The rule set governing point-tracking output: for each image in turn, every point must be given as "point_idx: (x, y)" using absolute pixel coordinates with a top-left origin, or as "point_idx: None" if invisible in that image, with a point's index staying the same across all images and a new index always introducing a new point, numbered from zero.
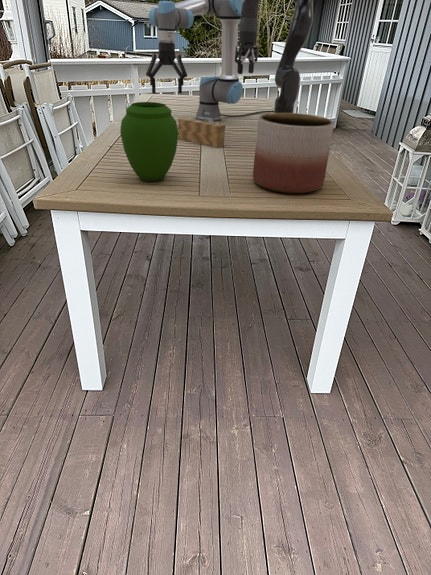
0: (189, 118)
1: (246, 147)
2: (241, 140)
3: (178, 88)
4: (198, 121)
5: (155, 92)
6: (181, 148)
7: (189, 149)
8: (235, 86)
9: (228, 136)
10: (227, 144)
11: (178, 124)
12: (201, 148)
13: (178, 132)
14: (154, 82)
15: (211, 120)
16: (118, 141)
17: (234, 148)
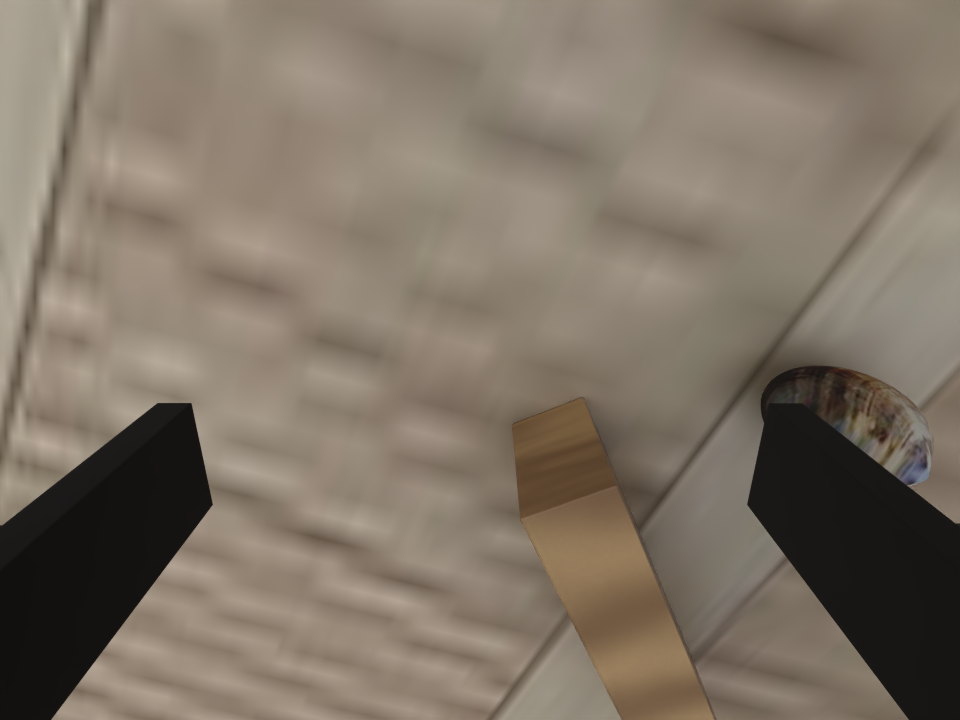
0: (630, 544)
1: (801, 715)
2: None
3: (814, 464)
4: (634, 665)
5: (201, 517)
6: (418, 640)
7: (455, 667)
8: None
9: (933, 465)
10: (745, 640)
11: (517, 486)
12: (534, 668)
13: (514, 448)
14: (50, 685)
15: None
16: (33, 381)
17: (718, 713)
